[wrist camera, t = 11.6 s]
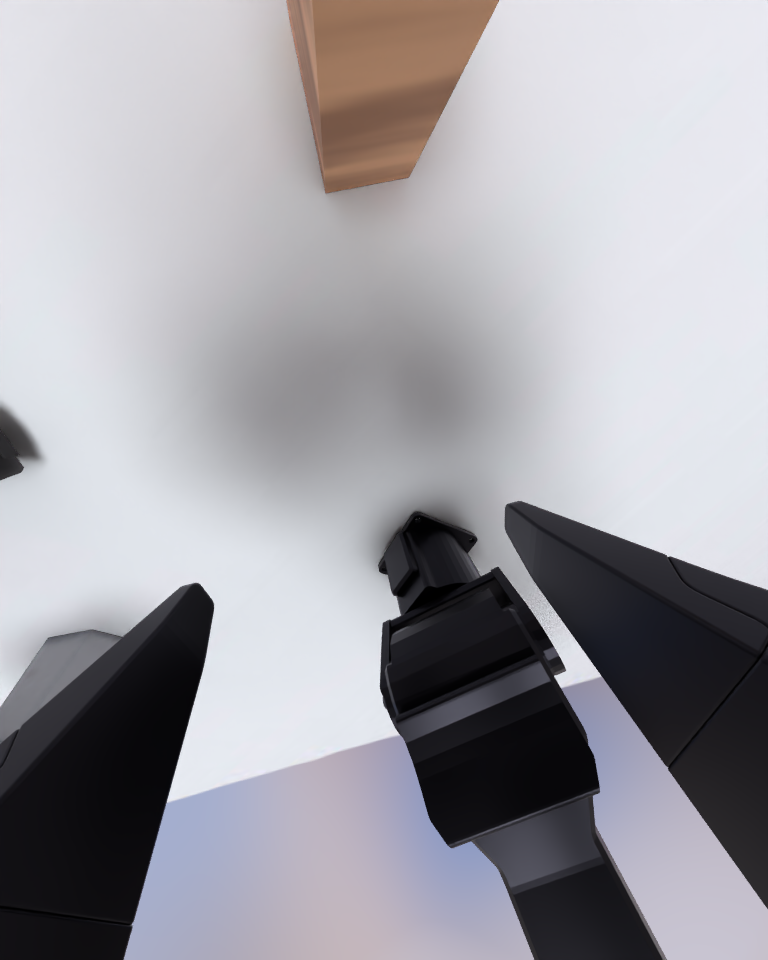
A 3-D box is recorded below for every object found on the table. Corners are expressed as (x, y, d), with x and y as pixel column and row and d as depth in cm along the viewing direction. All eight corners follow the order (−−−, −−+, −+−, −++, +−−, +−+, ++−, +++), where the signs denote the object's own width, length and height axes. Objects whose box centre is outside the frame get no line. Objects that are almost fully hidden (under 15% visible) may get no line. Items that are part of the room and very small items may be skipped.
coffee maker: (127, 706, 29) (-111, 1148, 14) (16, 687, 26) (-480, 1258, 10) (192, 620, 25) (-46, 1120, 9) (70, 584, 21) (-647, 1293, 6)
